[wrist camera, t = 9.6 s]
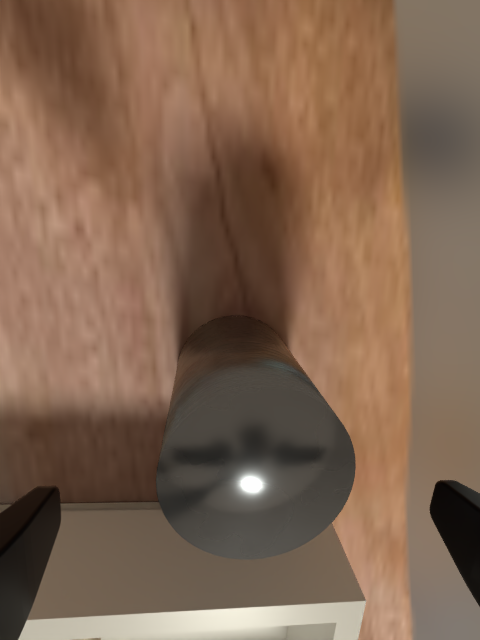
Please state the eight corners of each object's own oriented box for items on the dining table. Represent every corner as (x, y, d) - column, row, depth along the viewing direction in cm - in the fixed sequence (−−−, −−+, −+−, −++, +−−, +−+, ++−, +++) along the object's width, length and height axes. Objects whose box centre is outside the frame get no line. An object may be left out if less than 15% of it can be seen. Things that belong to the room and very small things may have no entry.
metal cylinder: (176, 418, 15) (155, 563, 9) (179, 312, 14) (157, 385, 7) (282, 419, 16) (340, 556, 9) (294, 317, 15) (370, 389, 8)
